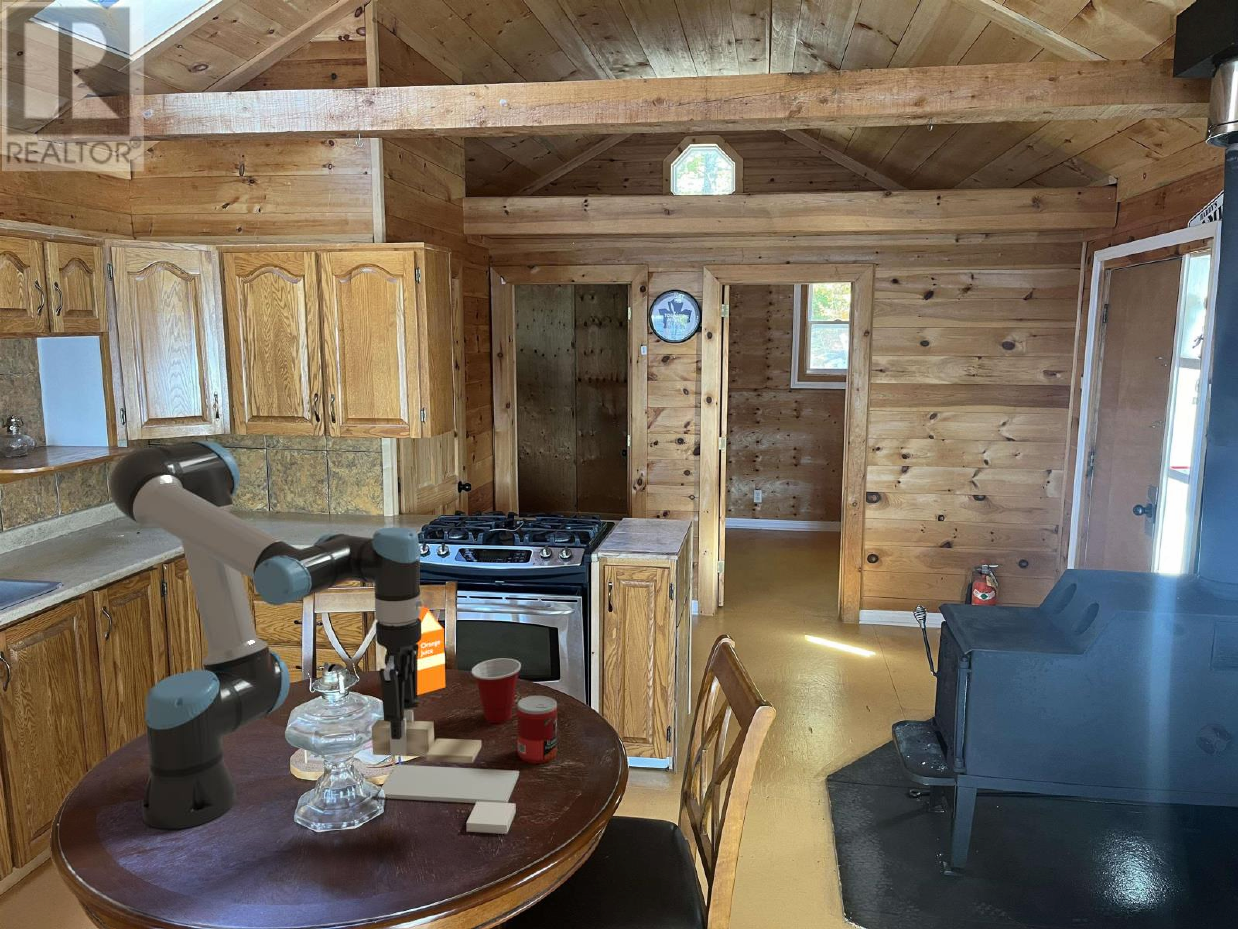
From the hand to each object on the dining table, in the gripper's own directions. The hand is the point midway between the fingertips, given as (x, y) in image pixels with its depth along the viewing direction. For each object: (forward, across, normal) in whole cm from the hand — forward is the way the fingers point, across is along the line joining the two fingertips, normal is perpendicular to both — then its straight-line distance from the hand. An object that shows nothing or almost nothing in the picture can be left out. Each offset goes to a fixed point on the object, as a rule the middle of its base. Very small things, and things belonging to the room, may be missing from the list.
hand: (402, 749), depth 155 cm
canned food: (+13, +25, -19) cm, 34 cm away
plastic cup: (+13, +41, -7) cm, 43 cm away
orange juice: (+13, +57, +15) cm, 60 cm away
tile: (+12, 0, -12) cm, 17 cm away
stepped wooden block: (0, 0, -4) cm, 4 cm away
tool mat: (+12, +11, -5) cm, 17 cm away
